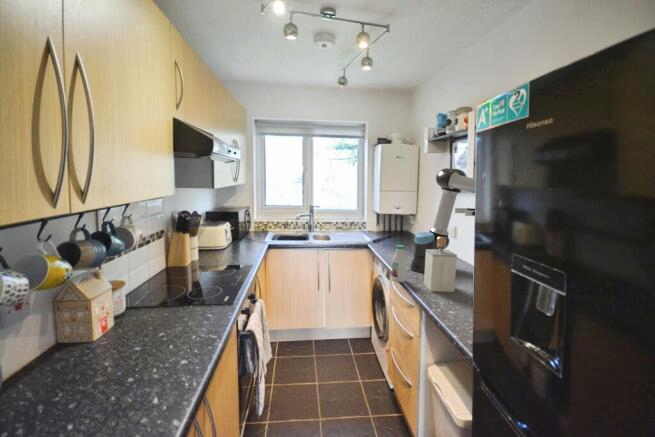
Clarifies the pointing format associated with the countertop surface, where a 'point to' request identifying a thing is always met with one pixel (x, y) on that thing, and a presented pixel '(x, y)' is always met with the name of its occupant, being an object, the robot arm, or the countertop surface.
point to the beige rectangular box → (440, 270)
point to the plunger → (441, 243)
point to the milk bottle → (399, 265)
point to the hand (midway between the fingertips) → (459, 211)
